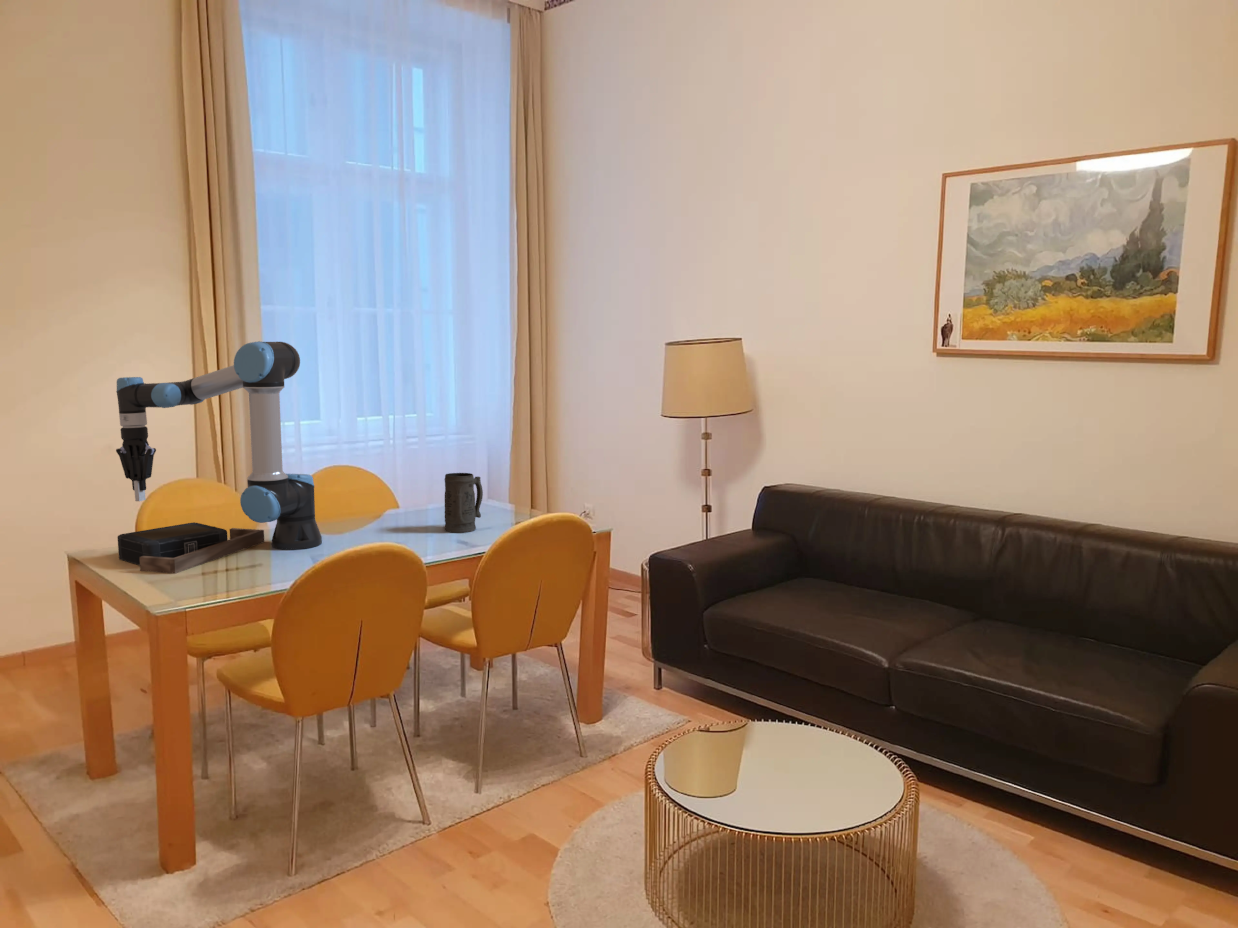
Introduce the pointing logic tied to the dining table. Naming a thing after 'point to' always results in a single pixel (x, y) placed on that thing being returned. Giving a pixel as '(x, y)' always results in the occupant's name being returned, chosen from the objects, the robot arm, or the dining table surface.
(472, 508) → the beer stein
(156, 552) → the cash box
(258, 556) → the dining table surface
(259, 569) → the dining table surface
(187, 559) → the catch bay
